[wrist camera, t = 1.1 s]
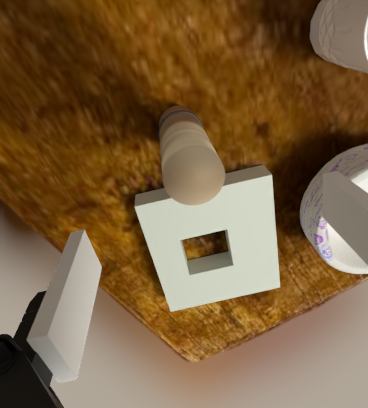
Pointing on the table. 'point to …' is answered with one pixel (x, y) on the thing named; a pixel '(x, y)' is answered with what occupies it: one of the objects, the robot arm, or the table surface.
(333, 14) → the white cup
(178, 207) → the socket board
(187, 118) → the maple dowel
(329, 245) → the paper bowls
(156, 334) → the table surface
